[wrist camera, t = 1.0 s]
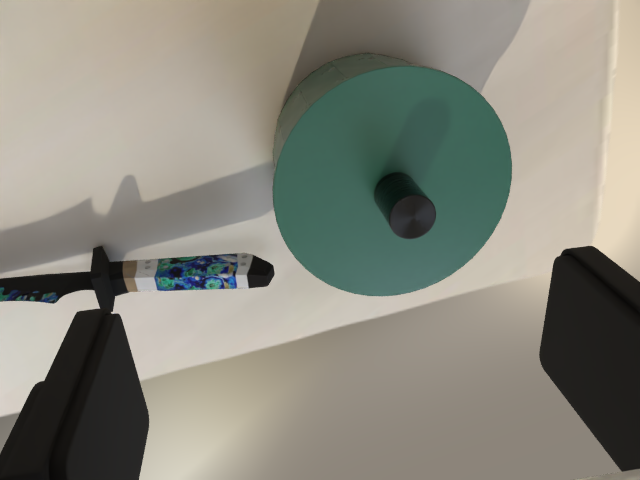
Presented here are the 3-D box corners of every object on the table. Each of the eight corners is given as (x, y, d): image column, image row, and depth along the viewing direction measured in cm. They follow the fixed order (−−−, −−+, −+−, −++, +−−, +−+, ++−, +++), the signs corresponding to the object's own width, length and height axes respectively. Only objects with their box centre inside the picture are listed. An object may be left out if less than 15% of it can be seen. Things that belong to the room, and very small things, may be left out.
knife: (275, 240, 38) (271, 270, 34) (277, 277, 40) (274, 310, 36) (-155, 252, 38) (-210, 284, 34) (-138, 289, 39) (-189, 324, 35)
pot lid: (293, 41, 26) (302, 52, 22) (536, 85, 29) (585, 103, 25) (256, 276, 32) (258, 320, 28) (464, 296, 34) (494, 339, 30)
